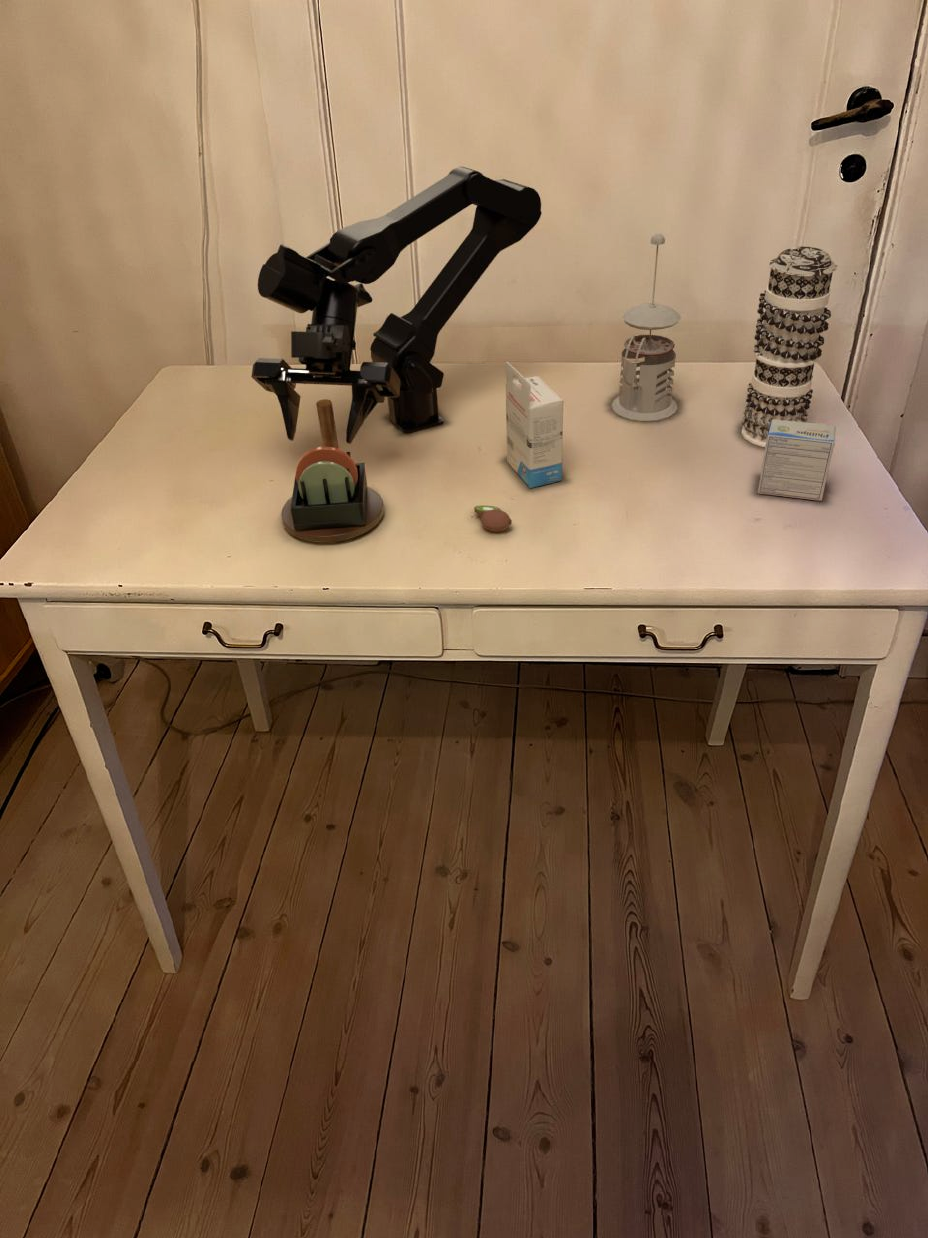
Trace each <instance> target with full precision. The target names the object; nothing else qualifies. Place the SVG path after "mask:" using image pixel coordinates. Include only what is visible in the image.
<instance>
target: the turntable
mask: <svg viewBox="0 0 928 1238" xmlns="http://www.w3.org/2000/svg"><path fill="white" fill-rule="evenodd" d="M291 502H292V496H291V497H290V498H289V499H288V500H287V501H286V502H285V503H284V505H283V506H282V509H281V515H280V516H281V521H282V525H283V527H284V529H285V530H286V531H287V532H288V533H289V534H290V535H291V536H293V537H296V538H298V539H301V540H304V541H308V542H313V543H314V542H315V543H333V542H340V541H345V540H350V539H353V538H356V537H358V536H360V535H363V534H365V533H367V532H368V531H370V530H372V529H373V528H374V527H375V526H376V525H378V523H379V522H380V521H381V519H382V517H383V515H384V510H385V509H384V508H385V507H384V500H383V498H382V497H381V495H380V494H379V493H378V491H376V490H375V489H374V488H371V487H369V486H367V502H366V525H359V526H346V527H333V528H320V529H307V530H295V529H294V524H293V519H292V514H291Z"/></svg>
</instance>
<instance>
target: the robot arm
mask: <svg viewBox="0 0 928 1238" xmlns="http://www.w3.org/2000/svg"><path fill="white" fill-rule="evenodd" d="M471 205H474V206H476V207H475V211H474V217H473V222H472V227H471V230H470V231H469V233H468V234H467V236H466V237H465V238H464V239H463V241H462V242H461V243H460V245H459V246H458V248H457V249H456V250H455V251H454V252H453V254H452V256H451V257H450V258H449V259H448V261H447V262H446V263H445V265H444V267H443V268H442V269H441V271H439V273H438V275H436V277H435V278H434V280H433V281H432V282H431V284H430V285H429V286H428V288H427V289H426V290H425V292H424V293H423V294H422V295H421V297H420V298H419V300H418V301H417V303H416V304H415V305H414V306H413V308H411V310H410V311H409V312H407V313H406V314H404V315H402V316H399V315H397V314H395V313H393V312H390V314H388V315H387V317H385V320H384V322H383V324H382V325H381V326H380V327H379V329H378V330H376V331H375V332H373V334H372V335H373V336H374V337H375V338H374V339H373V341H372V343H371V345H370V347H369V348H370V349H369V350H370V358H371V361H363V362H362V363H361V365H360V367H359V370H351V364H352V363H351V362H352V358H353V357H352V355H353V351H356V345H357V343H356V340H355V339H354V338H355V329H356V323H357V322H356V321H357V315H358V308H360V307H362V306H366V305H369V304H370V303H372V302H373V297H372V296H371V294H370V292H369V291H367V289H365V287H364V286H365V285H371V284H373V283H374V282H376V281H377V280H379V279H380V278H381V277H382V276H383V275H384V274H385V273H387V272H388V271H389V270H390V269H391V268H392V267H393V266H394V265H395V263H396V262H397V260H398V258H399V256H400V254H401V253H402V252H403V251H404V249H406V248H407V247H408V246H409V245H411V244H412V243H414V242H415V241H417V240H419V239H420V238H422V237H423V236H425V235H427V234H428V233H429V232H432V230H434V229H437V228H438V227H439V226H441V225H442V224H444V223H445V222H447V221H448V220H450V219H451V218H453V217H454V216H456V215H457V214H459V213H461V212H462V211H463V210H465V209H466V208H468V207H470V206H471ZM542 214H543V213H542V199H541V196H540V194H539V192H538V191H537V190H536V189H535V188H533V187H530V186H527V185H523V184H521V183H517V182H515V181H511V180H508V179H505V178H502V179H495V180H494V179H492V178H490V177H487V176H486V175H484V173H482V172H480V171H478V170H475V169H472V168H468V167H466V166H457V167H455V168H452V170H450V171H449V173H448V174H447V175H446V176H444V177H443V178H441V179H440V180H438V181H436V182H435V183H433V184H431V185H430V186H428V187H427V188H425V189H424V190H422V191H421V192H419V193H417V194H416V195H414V196H412V197H411V198H410V199H408V200H406V201H405V202H403V203H402V204H400V205H398V206H397V207H396V208H394V209H392V210H391V211H389V212H387V213H386V214H384V215H382V216H379V217H377V218H372V219H371V218H370V219H366V220H362V221H357V222H355V223H352V224H350V225H348V226H345V227H343V228H340V229H338V230H337V231H335V233H333V234H332V236H330V238H329V242H327V243H326V244H324V245H323V246H320V248H318V249H317V250H315V251H313V252H312V253H310V254H309V255H307V256H306V257H305V256H303V255H301V254H299V253H298V252H297V251H296V250H294V249H293V248H291V247H288V246H286V245H284V244H283V243H281V244H279V247H278V249H277V252H275V253H273V254H271V255H270V256H269V257H268V259H267V260H266V261H265V263H264V264H262V266H261V268H260V269H259V270H260V271H259V274H258V277H257V278H258V279H257V292H258V294H259V295H260V297H262V298H264V299H267V300H269V301H271V302H272V303H275V304H278V305H280V306H281V307H284V308H286V309H289V310H291V311H293V312H295V313H297V314H305V313H307V312H308V311H310V312H312V314H311V322H310V323H307V325H306V328H305V331H297V330H295V331H290V340H291V341H290V350H291V351H290V354H291V355H290V356H291V359H298V362H299V364H300V365H305V368H300V367H299V368H294V367H291V366H290V365H289V364H288V362H286V360H285V359H284V358H271V357H268V358H266V357H258V359H256V361H255V362H254V363H253V364H252V368H251V369H252V370H251V377H250V378H252V379H253V380H254V381H255V382H256V383H257V384H258V385H259V386H260V387H262V389H264V391H266V392H268V393H273V394H274V395H276V397H277V400H278V404H279V406H280V410H281V414H282V418H283V423H284V429H285V433H286V436H287V439H288V441H291V442H292V441H294V439H295V435H296V432H297V427H298V426H297V425H298V419H299V413H300V412H299V411H300V405H301V403H300V402H301V395H300V394H299V393H298V392H297V391H296V390H295V389H296V385H297V384H300V385H301V384H302V385H327V386H347V387H349V386H351V403H350V409H349V413H348V419H347V423H346V424H347V425H346V431H345V442H346V444H349V445H351V444H352V443H353V441H354V439H355V438H356V436H357V434H358V432H359V431H360V429H361V427H362V426H363V424H364V422H365V421H366V419H368V417H369V415H370V414H371V413H372V411H373V410H374V409H375V407H376V406H377V405H378V404H383V403H385V400H386V398H387V406H388V419H389V420H390V421H391V422H392V423H393V424H394V425H395V426H396V427H398V428H399V430H400V431H401V432H402V433H404V434H408V433H412V432H416V431H419V430H423V429H428V428H431V427H435V426H438V425H442V424H444V418H442V417H441V415H440V414H439V402H438V401H439V400H438V399H439V398H438V389H440V388H441V387H442V385H443V380H444V377H445V372H443V371H442V370H441V369H439V368H438V367H436V366H435V365H434V364H432V363H431V362H432V360H433V358H434V356H435V353H436V346H437V341H438V337H439V334H440V333H441V330H442V329H443V328H444V326H445V325H446V324H447V322H448V321H449V320H450V319H451V317H452V316H453V315H454V313H455V312H456V310H457V309H458V308H459V306H460V305H461V304H462V303H463V301H464V300H465V299H466V298H467V296H468V295H469V293H470V292H471V291H472V289H473V288H474V286H475V285H476V284H477V282H478V281H479V280H480V278H481V277H483V275H484V273H485V272H486V271H487V269H488V268H489V267H490V265H491V264H493V261H494V260H495V258H496V257H498V255H499V254H500V253H501V252H502V251H504V250H506V249H507V248H510V247H512V246H513V245H515V244H517V243H519V242H521V240H523V238H525V236H527V235H528V234H529V233H530V232H531V231H532V230H533V229H534V228H535V227H536V226H537V224H538V223H539V221H540V219H541V217H542ZM352 282H356V283H357V284H355V285H354V284H352Z"/></svg>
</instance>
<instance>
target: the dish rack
mask: <svg viewBox="0 0 928 1238" xmlns="http://www.w3.org/2000/svg"><path fill="white" fill-rule="evenodd" d="M315 405H316V411H317V418H318V424H319V425H318V426H319V431H320V436H321V443H322V446H318V447H314V448H312V449H309V450H308V451H307V452H305V453H303V455H302V456H301V457H300V459H299V460H298V462H297V464H296V469H295V475H294V482H293V489H292V496H291V497H292V502H291V514H292V519H293V524H294V529H295V530H307V529H320V528H333V527H346V526H359V525H366V502H367V487H368V481H367V473H366V472H367V471H366V467H365V462H355V461H354V459H353V458H352V456H351V454H352V453H351V452H350V451H346V452H345V451H343V450H341V449H340V448H339V442H338V435H337V428H336V422H335V421H336V420H335V414H334V407H333V402H332V400H330V399H328V398H327V399H326V398H324V399H320V400H317V401H316V403H315Z"/></svg>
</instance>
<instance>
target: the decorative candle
mask: <svg viewBox="0 0 928 1238" xmlns="http://www.w3.org/2000/svg"><path fill="white" fill-rule="evenodd" d="M768 266H769V267H770V273H769V278H768V284H767V286H766V289H765V290H764V292H761V293H759V298H758V302H759V303H758V308H757V310H756V312H757V314H759V317H758V318H757V320H756V325H755V328H756V329H755V335H754V336H753V337H754V340H755V341H756V343H755V344H754V346H753V347H754V349H753V355H754V357H755V358H756V359H755V366H754V370H753V372H752V375H751V382H749V383H748V387H747V390H746V391H747V394H746V398H745V402H746V403H747V404H746V405H745V406H744V410H743V415H744V416H743V418H742V421H741V425H742V427H741V428H742V429H741V433H740V434H741V435H742V437H743V439H745V440H746V441H748V442H750V444H753V445H755V446H758V447H762V448H765V446H766V441H767V435H768V430H769V426H770V421H771V420H773V419H775V420H785V421H796V422H808V416H809V412H808V411H807V410H809V409H810V407H811V404H812V403H811V399H812V398H813V393H814V390H813V388H812V386H813V385H812V384H813V379H814V375H813V372H814V368H815V364H816V363H817V362H818V361H819V360H820V357H821V356H822V352H823V350H822V349H821V348H820V347H821V346H824V344H825V338H824V337H823V336H822V335H821V334H823V332H826V331H827V330H829V322H828V321H827V320H828V319H830V318H831V317H832V311H831V310H830V309H828V308H827V306H828V304H829V301H830V295H831V285H832V278H833V273H834V272H835V271H836V270H837V268H838V264H836V263H835V262H834V261H833V260H832V258H831V256H830V254H829V253H828V252H827V251H826V250H823V249H821V248H818V247H813V246H793V247H788V248H786V249H784V250H782V251H781V252H780V253H779V254H778V255H777V257H775V258H773V259H771V260H770V261H769V265H768ZM764 309H765V310H764Z"/></svg>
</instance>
